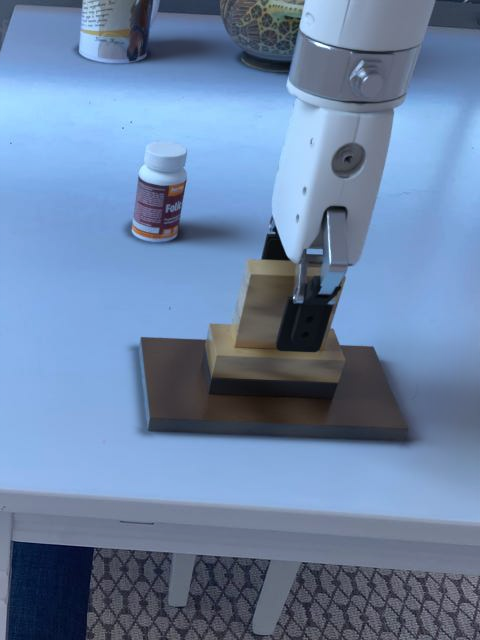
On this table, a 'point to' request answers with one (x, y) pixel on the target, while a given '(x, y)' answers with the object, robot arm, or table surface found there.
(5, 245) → the table surface
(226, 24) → the decorative ceramic pot
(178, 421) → the board
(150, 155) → the pill bottle
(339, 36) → the robot arm
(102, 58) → the mug
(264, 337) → the wooden handled stamp
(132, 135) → the table surface
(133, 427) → the table surface
